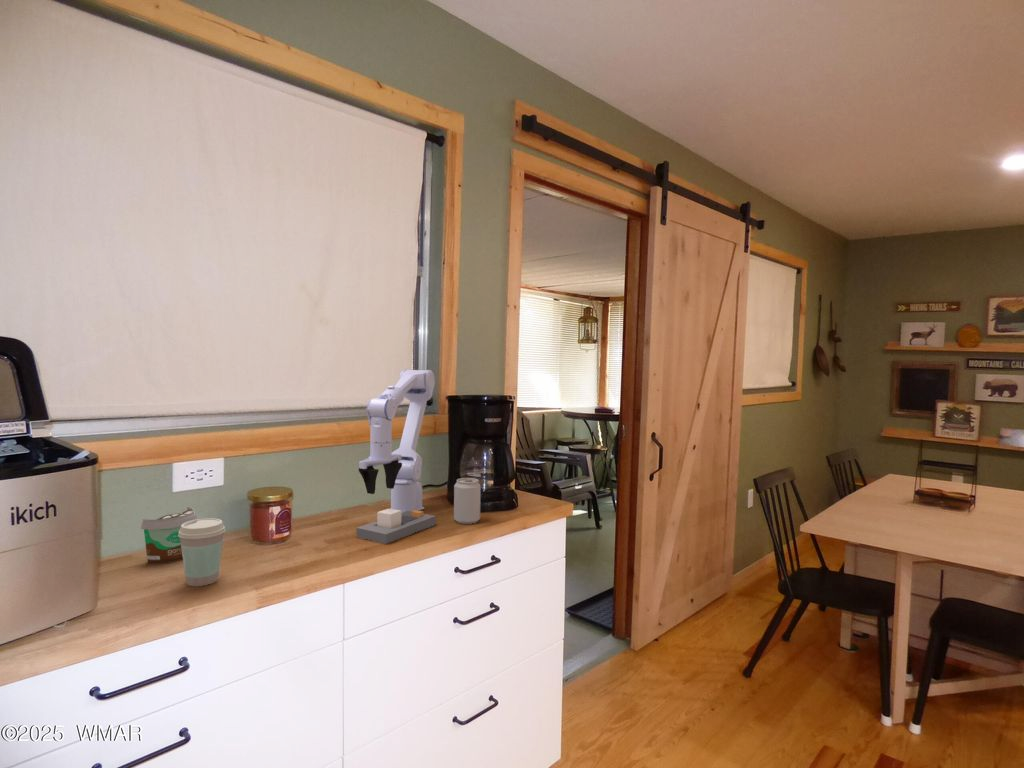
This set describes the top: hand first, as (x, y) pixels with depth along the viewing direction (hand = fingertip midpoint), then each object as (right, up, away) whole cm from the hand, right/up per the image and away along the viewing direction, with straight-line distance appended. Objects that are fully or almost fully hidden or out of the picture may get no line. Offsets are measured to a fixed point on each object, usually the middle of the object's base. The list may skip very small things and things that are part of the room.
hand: (380, 490), depth 161 cm
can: (+23, -10, +5) cm, 26 cm away
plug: (+4, -10, -8) cm, 13 cm away
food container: (-40, -10, -28) cm, 50 cm away
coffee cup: (-27, -11, -42) cm, 51 cm away
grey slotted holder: (+6, -10, -5) cm, 13 cm away
